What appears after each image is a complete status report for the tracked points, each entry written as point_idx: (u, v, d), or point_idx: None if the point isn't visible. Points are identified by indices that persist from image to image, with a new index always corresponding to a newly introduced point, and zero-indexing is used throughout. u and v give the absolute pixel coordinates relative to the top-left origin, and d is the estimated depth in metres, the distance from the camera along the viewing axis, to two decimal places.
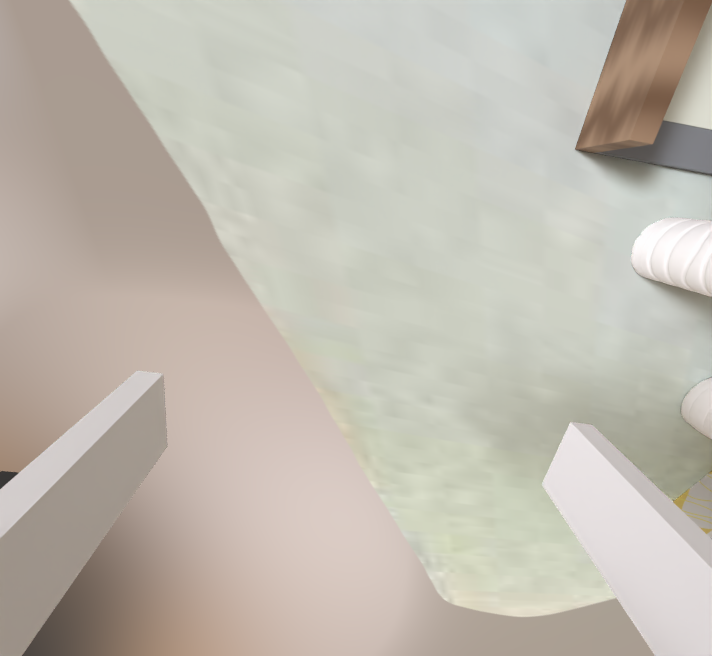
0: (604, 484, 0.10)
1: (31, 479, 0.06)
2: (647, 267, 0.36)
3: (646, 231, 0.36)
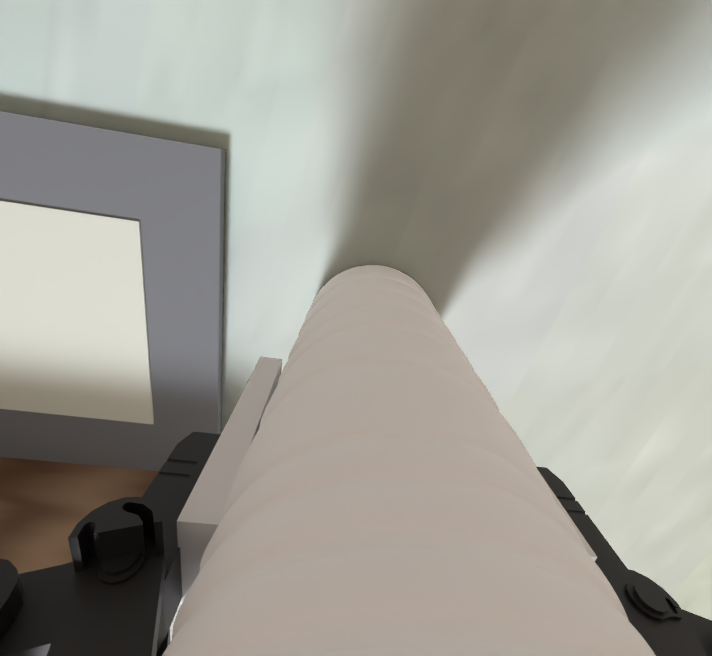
0: None
1: (235, 434, 0.08)
2: None
3: None
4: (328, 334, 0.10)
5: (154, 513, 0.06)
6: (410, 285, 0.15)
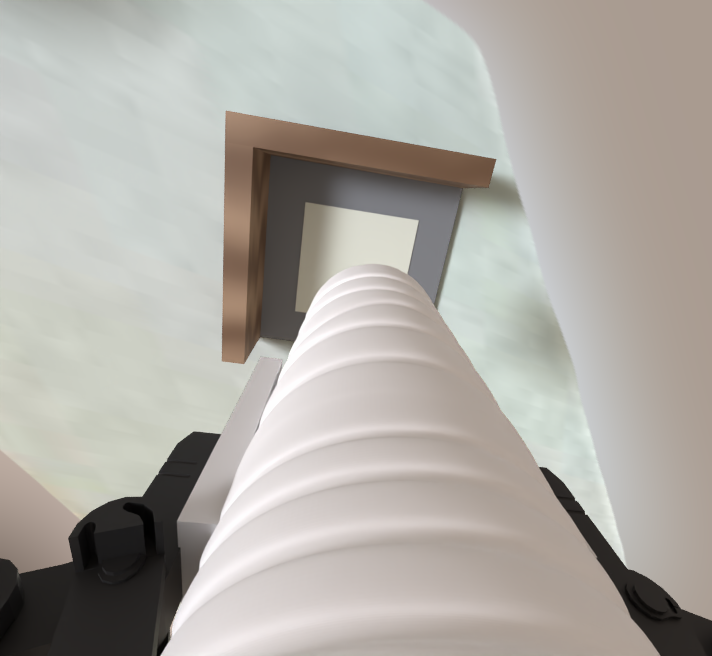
0: None
1: (235, 434, 0.08)
2: None
3: None
4: (328, 332, 0.10)
5: (155, 513, 0.06)
6: (410, 284, 0.15)
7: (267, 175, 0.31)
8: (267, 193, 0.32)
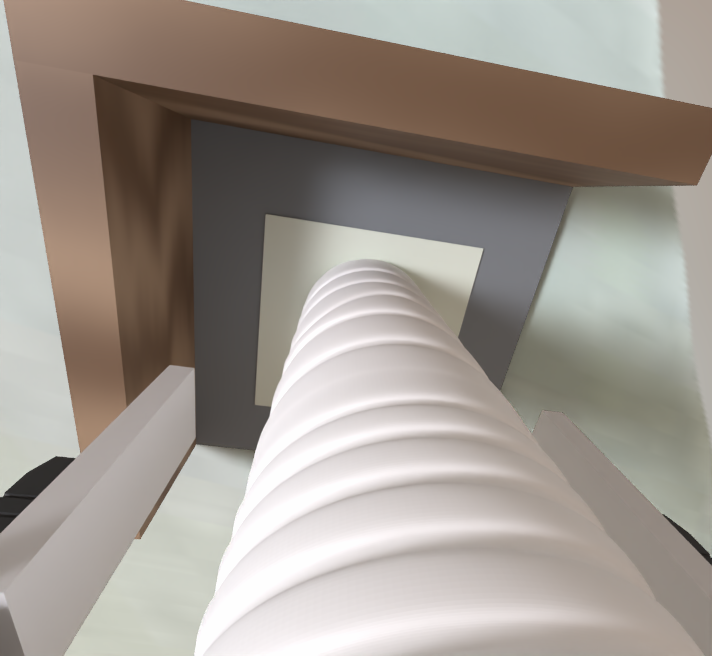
0: (570, 467, 0.10)
1: (89, 462, 0.07)
2: None
3: None
4: (333, 321, 0.10)
5: None
6: (403, 278, 0.16)
7: (183, 160, 0.15)
8: (187, 197, 0.16)
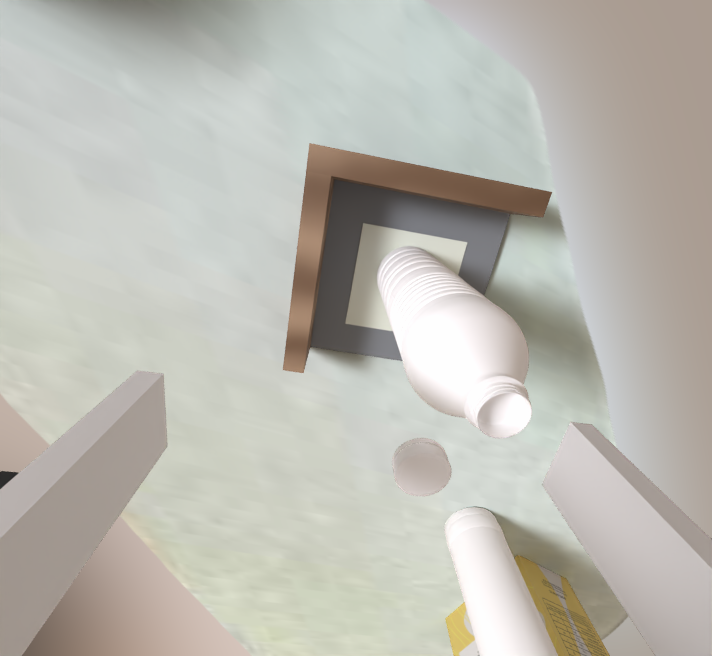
0: (604, 484, 0.10)
1: (31, 479, 0.06)
2: None
3: None
4: (408, 264, 0.28)
5: None
6: (429, 254, 0.34)
7: (331, 198, 0.34)
8: None
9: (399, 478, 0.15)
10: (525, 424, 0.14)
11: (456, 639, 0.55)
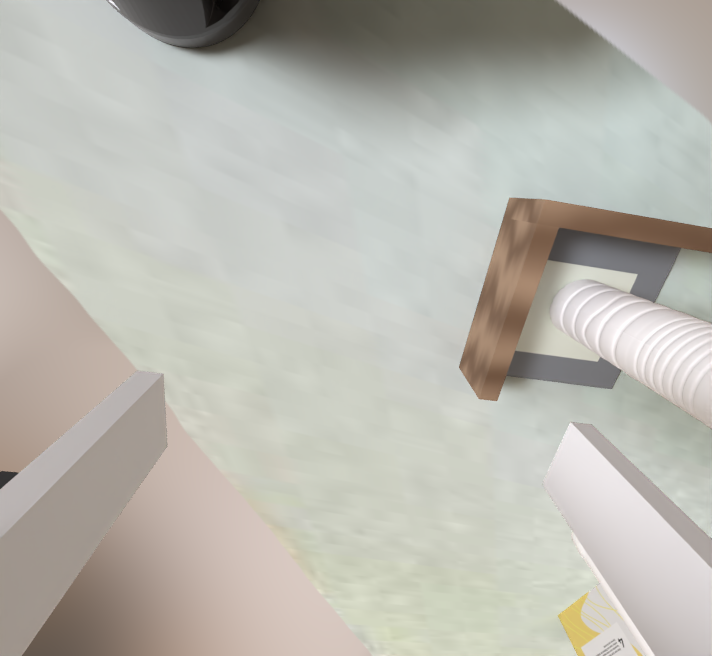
0: (604, 484, 0.10)
1: (31, 479, 0.06)
2: None
3: None
4: (624, 304, 0.31)
5: None
6: None
7: None
8: None
9: None
10: None
11: (575, 634, 0.59)
